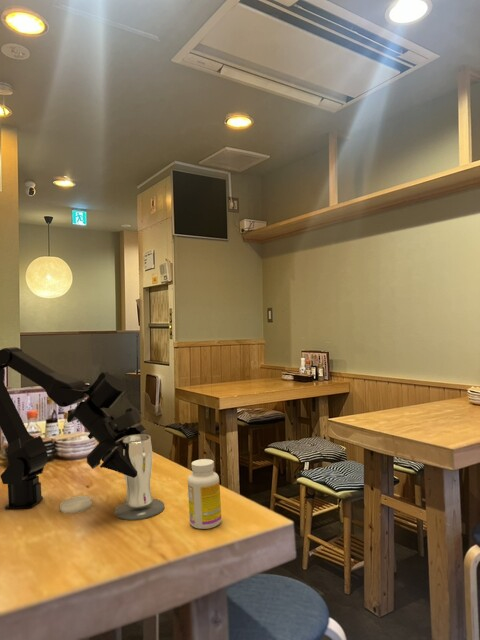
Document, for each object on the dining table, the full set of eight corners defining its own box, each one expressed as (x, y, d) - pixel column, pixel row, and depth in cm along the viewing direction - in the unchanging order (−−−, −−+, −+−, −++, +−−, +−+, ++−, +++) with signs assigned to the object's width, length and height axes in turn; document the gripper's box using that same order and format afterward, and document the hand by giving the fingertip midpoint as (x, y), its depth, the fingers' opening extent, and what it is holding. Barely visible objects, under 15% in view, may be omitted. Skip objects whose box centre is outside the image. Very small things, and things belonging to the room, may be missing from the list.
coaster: (108, 521, 103) (108, 518, 103) (123, 501, 114) (123, 499, 114) (158, 519, 102) (158, 516, 102) (168, 500, 113) (168, 497, 113)
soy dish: (61, 517, 107) (60, 511, 107) (59, 506, 114) (59, 500, 114) (93, 509, 110) (92, 503, 110) (90, 499, 116) (89, 493, 116)
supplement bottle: (227, 519, 101) (224, 459, 101) (211, 532, 95) (208, 468, 95) (200, 514, 104) (197, 456, 104) (183, 527, 98) (180, 465, 98)
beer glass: (155, 507, 106) (152, 441, 105) (123, 511, 105) (119, 444, 104) (154, 494, 113) (150, 432, 112) (124, 498, 111) (120, 435, 110)
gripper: (97, 405, 100) (147, 459, 97) (137, 391, 118) (180, 436, 115) (65, 441, 102) (114, 495, 99) (109, 422, 120) (151, 467, 117)
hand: (142, 471), depth 108 cm, fingers closed on beer glass, 6 cm apart
